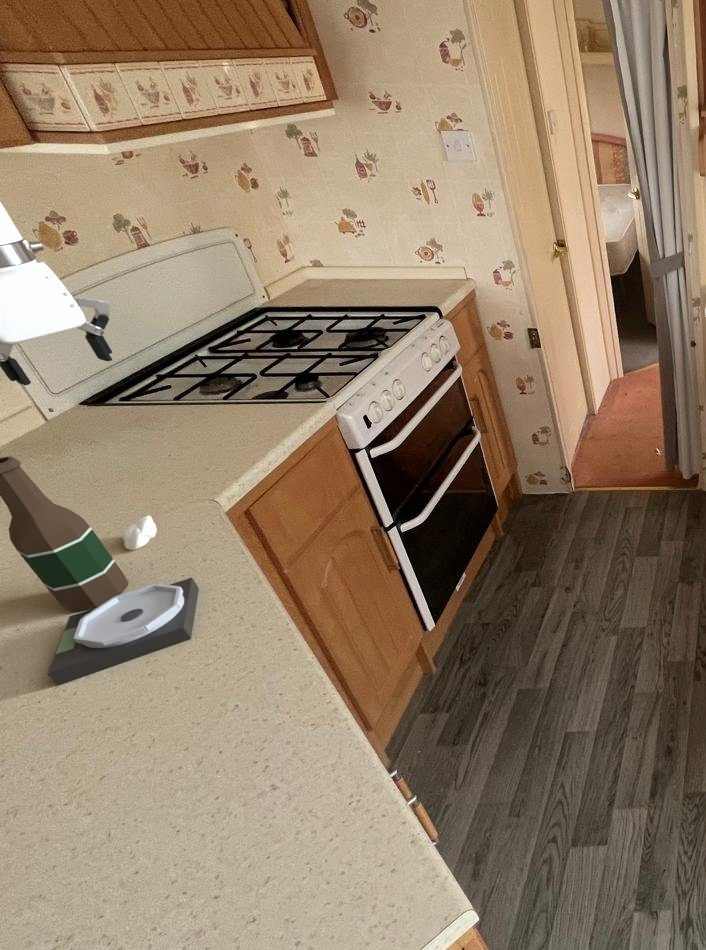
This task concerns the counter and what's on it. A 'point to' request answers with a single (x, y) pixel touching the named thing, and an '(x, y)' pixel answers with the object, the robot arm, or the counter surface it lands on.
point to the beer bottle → (58, 544)
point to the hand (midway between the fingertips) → (66, 371)
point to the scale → (125, 629)
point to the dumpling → (139, 533)
